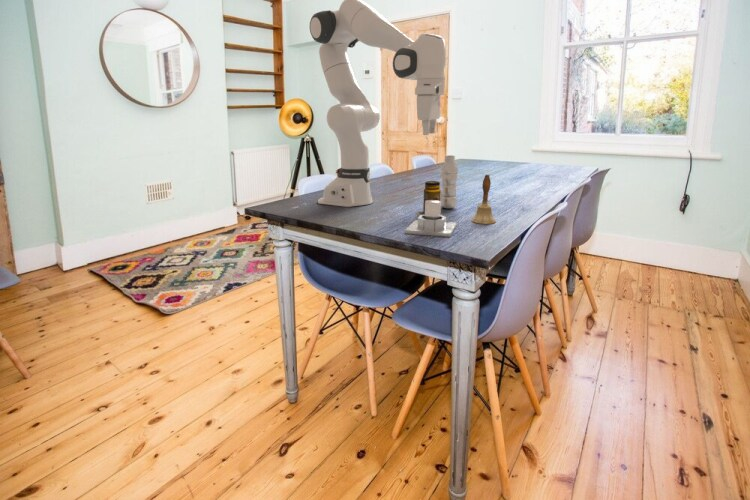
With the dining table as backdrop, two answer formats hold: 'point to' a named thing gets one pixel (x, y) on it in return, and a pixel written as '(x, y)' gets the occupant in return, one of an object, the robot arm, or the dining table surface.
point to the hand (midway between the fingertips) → (428, 134)
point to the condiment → (430, 193)
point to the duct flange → (431, 227)
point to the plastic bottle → (448, 183)
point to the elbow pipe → (432, 209)
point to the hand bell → (484, 206)
